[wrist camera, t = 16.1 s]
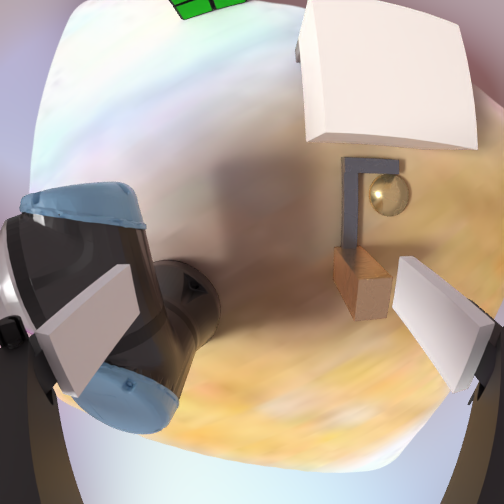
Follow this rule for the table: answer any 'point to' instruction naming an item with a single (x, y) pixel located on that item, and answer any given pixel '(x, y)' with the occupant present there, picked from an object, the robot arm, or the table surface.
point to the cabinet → (384, 77)
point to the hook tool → (360, 248)
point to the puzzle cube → (200, 6)
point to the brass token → (388, 194)
